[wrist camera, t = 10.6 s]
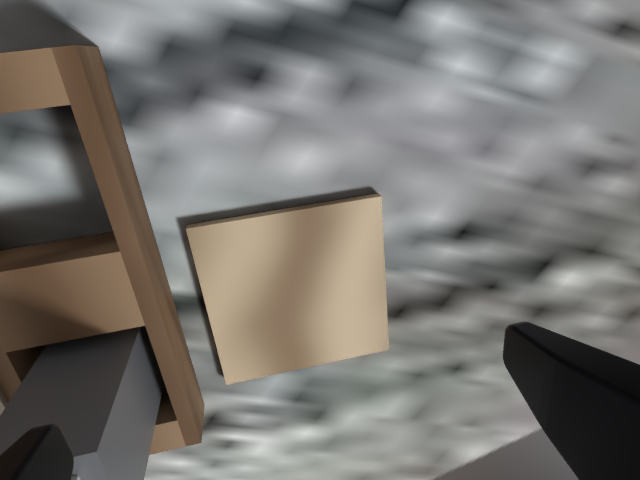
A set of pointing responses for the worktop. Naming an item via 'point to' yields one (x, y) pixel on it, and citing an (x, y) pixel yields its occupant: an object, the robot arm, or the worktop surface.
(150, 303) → the socket strip
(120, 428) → the plug
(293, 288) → the pad
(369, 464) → the worktop surface
